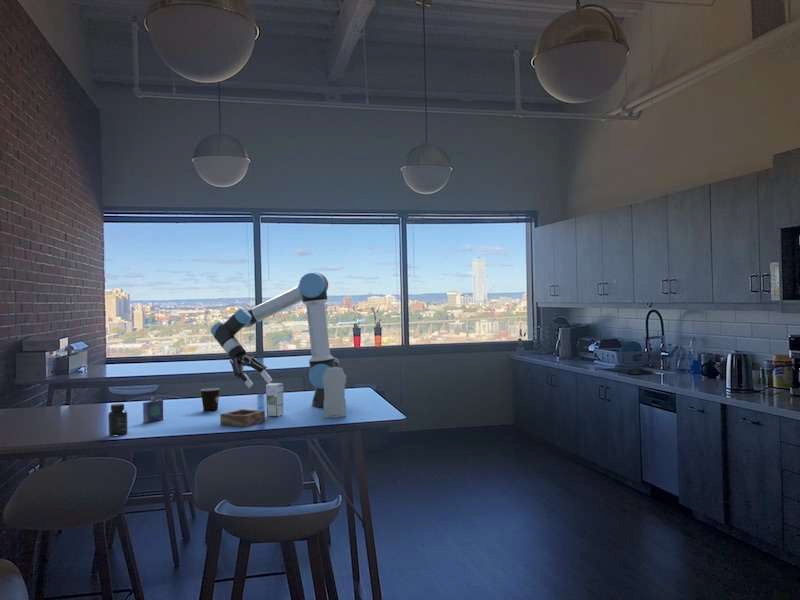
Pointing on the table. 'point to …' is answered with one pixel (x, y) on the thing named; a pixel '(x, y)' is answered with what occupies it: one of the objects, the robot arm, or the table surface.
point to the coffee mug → (210, 399)
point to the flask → (153, 410)
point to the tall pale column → (334, 393)
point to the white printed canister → (274, 399)
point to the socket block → (242, 417)
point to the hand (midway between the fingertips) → (261, 384)
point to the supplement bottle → (117, 420)
